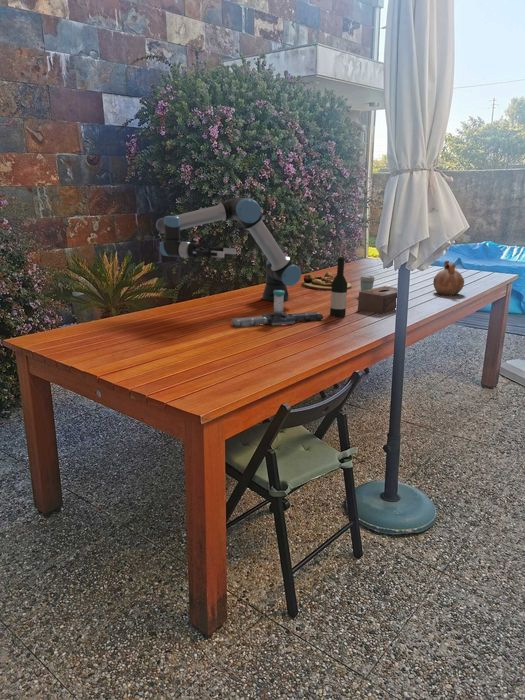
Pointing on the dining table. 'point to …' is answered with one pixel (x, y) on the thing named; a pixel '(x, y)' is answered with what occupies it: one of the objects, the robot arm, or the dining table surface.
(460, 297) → the dining table surface
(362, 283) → the coffee cup
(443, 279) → the jug
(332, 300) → the wine bottle
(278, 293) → the steel pin
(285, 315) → the chain ends
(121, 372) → the dining table surface
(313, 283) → the wooden plate with food
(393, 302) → the tissue box cover
